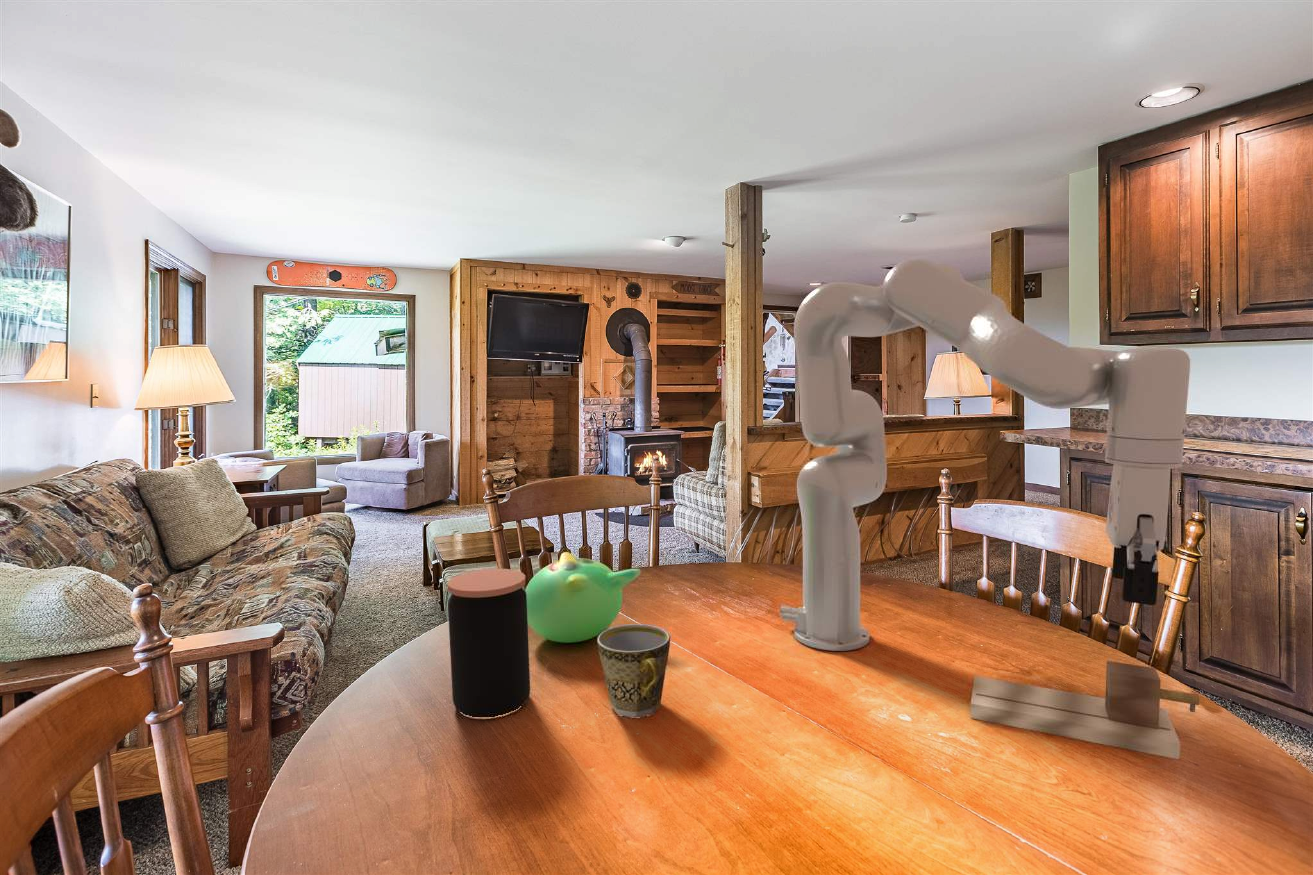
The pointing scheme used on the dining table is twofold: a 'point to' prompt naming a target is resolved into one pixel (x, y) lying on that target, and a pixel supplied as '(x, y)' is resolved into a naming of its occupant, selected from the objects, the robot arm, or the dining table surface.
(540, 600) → the plump green bird figurine
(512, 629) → the coffee jar
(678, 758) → the dining table surface
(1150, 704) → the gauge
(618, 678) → the ceramic cup
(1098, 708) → the board
